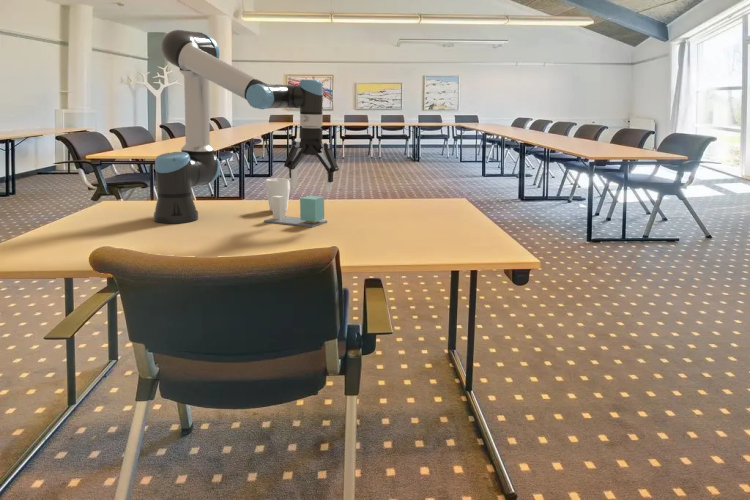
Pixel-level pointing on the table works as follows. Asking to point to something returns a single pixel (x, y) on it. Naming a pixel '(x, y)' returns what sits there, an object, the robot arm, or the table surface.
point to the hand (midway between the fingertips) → (310, 189)
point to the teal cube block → (312, 208)
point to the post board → (282, 219)
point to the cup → (277, 190)
